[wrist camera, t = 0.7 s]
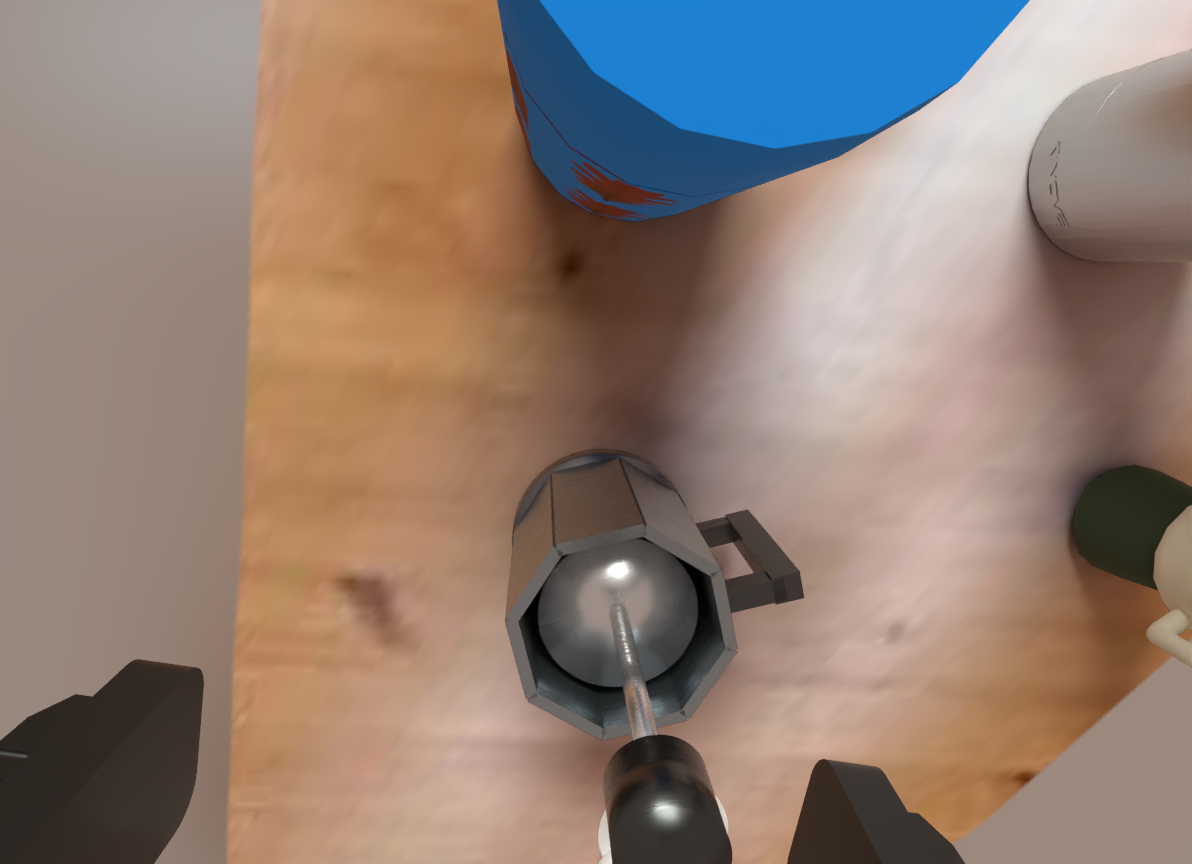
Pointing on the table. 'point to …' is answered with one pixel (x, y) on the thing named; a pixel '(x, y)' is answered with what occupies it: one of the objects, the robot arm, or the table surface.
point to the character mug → (1143, 542)
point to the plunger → (636, 693)
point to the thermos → (723, 88)
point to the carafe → (614, 514)
